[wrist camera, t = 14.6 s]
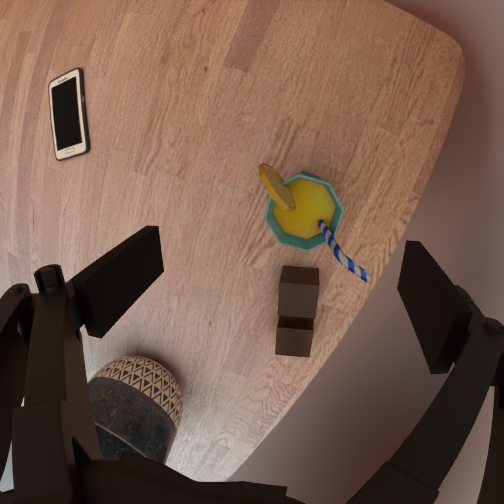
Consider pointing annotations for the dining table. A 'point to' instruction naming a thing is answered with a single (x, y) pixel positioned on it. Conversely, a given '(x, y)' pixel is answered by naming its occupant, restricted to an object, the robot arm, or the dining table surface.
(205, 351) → the dining table surface
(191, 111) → the dining table surface
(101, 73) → the dining table surface
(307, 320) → the walnut block far
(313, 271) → the walnut block near
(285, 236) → the cup
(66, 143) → the cell phone
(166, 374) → the planter
